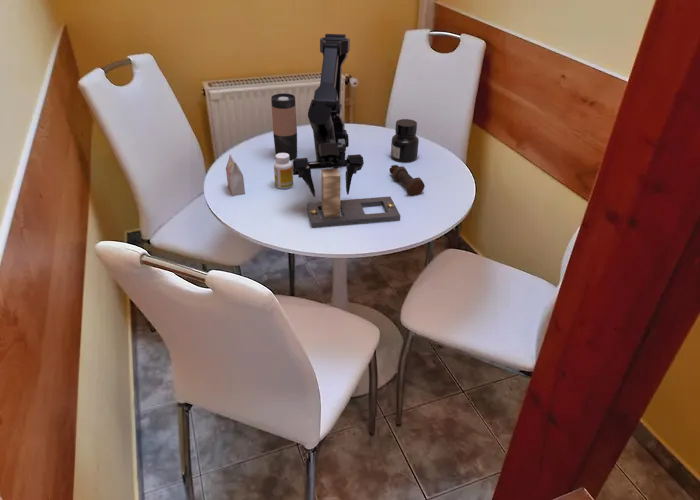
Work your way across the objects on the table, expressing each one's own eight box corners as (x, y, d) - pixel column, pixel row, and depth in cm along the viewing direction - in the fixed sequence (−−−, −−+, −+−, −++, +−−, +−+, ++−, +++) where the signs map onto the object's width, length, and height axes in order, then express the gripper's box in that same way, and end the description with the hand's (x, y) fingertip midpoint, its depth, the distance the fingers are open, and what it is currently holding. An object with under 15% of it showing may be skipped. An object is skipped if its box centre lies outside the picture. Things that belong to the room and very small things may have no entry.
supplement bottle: (296, 183, 162) (295, 153, 156) (287, 191, 158) (285, 160, 152) (281, 179, 163) (279, 150, 158) (271, 187, 159) (269, 157, 154)
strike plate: (311, 228, 141) (311, 221, 139) (306, 207, 149) (306, 200, 148) (400, 220, 144) (400, 213, 143) (390, 201, 153) (390, 194, 152)
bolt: (395, 179, 169) (418, 199, 157) (382, 174, 166) (405, 194, 155) (404, 163, 167) (428, 182, 156) (391, 157, 165) (415, 176, 153)
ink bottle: (391, 150, 183) (393, 116, 176) (416, 152, 182) (419, 117, 176) (390, 162, 175) (392, 127, 168) (417, 164, 174) (420, 128, 168)
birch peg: (324, 220, 144) (323, 176, 137) (321, 212, 147) (321, 169, 140) (340, 219, 145) (340, 175, 137) (337, 211, 148) (337, 168, 141)
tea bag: (240, 184, 161) (236, 153, 155) (245, 194, 156) (241, 162, 150) (227, 186, 160) (224, 155, 154) (232, 196, 155) (228, 164, 149)
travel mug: (302, 155, 179) (300, 96, 168) (288, 163, 173) (285, 102, 162) (284, 150, 182) (281, 91, 171) (270, 157, 177) (265, 98, 166)
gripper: (291, 129, 135) (297, 188, 133) (363, 125, 138) (371, 183, 135) (289, 146, 146) (295, 201, 143) (356, 142, 149) (363, 196, 146)
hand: (331, 195), depth 142 cm, fingers open, 9 cm apart
